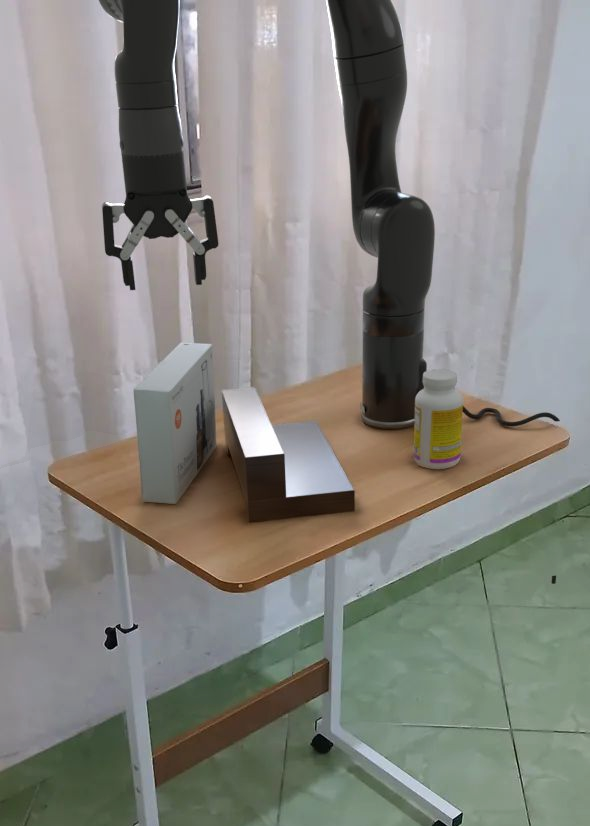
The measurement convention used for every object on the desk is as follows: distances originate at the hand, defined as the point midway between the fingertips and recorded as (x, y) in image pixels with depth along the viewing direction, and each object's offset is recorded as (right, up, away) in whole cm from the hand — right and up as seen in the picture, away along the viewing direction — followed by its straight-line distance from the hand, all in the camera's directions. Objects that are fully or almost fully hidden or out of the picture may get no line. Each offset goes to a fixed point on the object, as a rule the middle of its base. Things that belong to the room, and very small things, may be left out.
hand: (165, 286), depth 133 cm
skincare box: (+1, -22, +14) cm, 26 cm away
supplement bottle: (+37, -20, +15) cm, 45 cm away
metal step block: (+15, -23, +12) cm, 30 cm away
